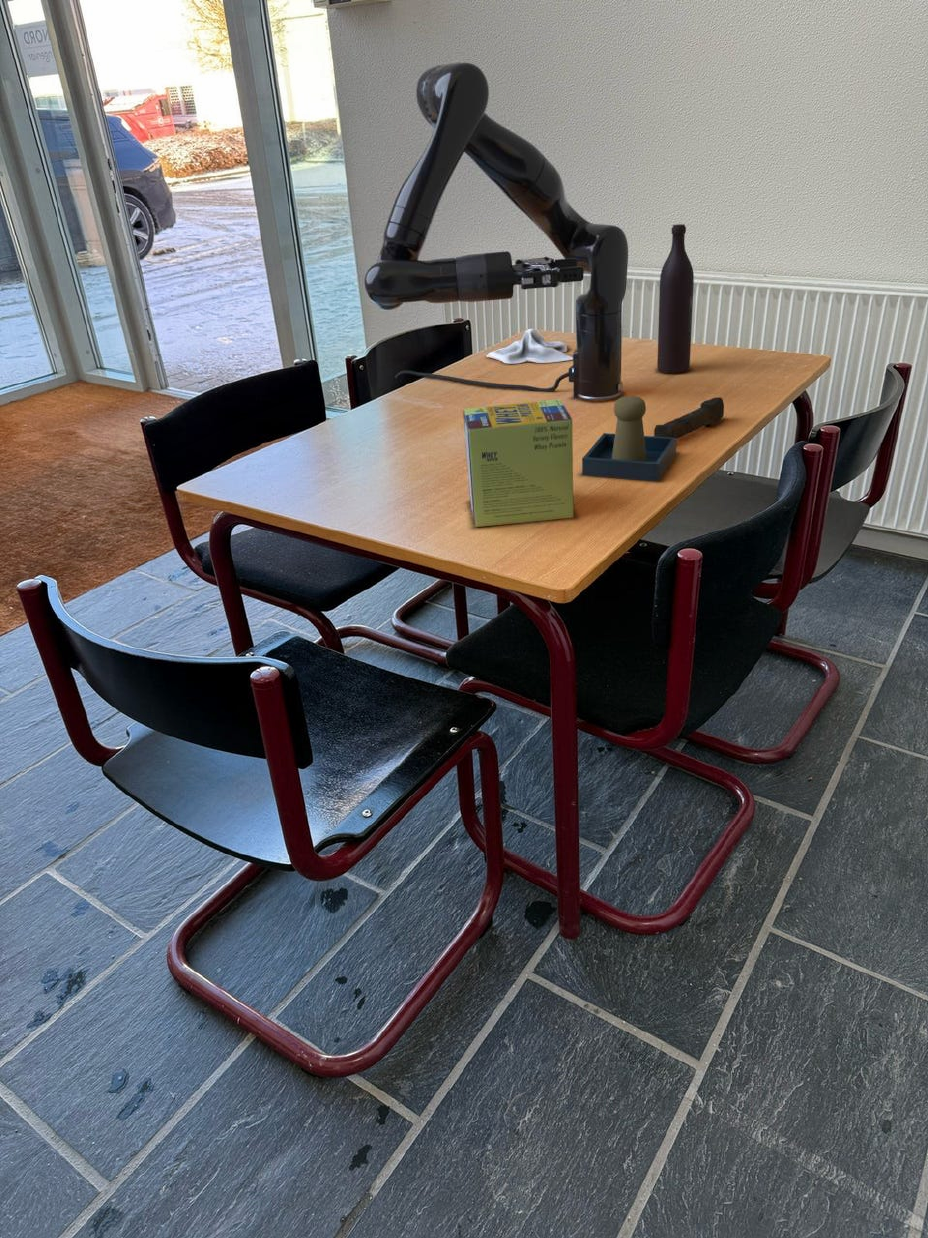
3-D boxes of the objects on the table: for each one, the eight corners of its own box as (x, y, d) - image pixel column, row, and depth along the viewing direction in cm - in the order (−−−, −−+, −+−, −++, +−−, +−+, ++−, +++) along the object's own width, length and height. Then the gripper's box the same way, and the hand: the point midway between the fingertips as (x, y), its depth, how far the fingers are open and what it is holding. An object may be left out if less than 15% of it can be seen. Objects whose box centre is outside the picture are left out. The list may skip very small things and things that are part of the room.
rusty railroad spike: (670, 449, 160) (671, 423, 158) (652, 444, 163) (653, 418, 160) (735, 421, 170) (737, 397, 168) (717, 417, 173) (719, 393, 170)
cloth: (479, 363, 220) (477, 337, 217) (506, 344, 235) (505, 319, 232) (566, 366, 212) (566, 339, 209) (589, 346, 226) (589, 321, 223)
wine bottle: (692, 373, 199) (699, 225, 184) (660, 375, 200) (664, 228, 185) (686, 364, 205) (692, 221, 190) (654, 366, 206) (658, 224, 191)
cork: (638, 469, 151) (640, 404, 146) (605, 465, 154) (605, 401, 149) (652, 457, 155) (654, 394, 150) (619, 453, 158) (620, 391, 153)
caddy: (582, 475, 152) (582, 458, 151) (603, 449, 163) (603, 432, 161) (658, 481, 148) (659, 464, 146) (675, 454, 158) (676, 437, 156)
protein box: (575, 518, 138) (573, 418, 130) (474, 528, 137) (466, 429, 129) (563, 492, 147) (561, 397, 139) (468, 501, 146) (461, 407, 138)
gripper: (484, 260, 145) (585, 251, 144) (480, 247, 157) (574, 239, 157) (487, 308, 149) (586, 300, 148) (483, 292, 161) (574, 284, 161)
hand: (579, 268), depth 153 cm, fingers open, 8 cm apart
